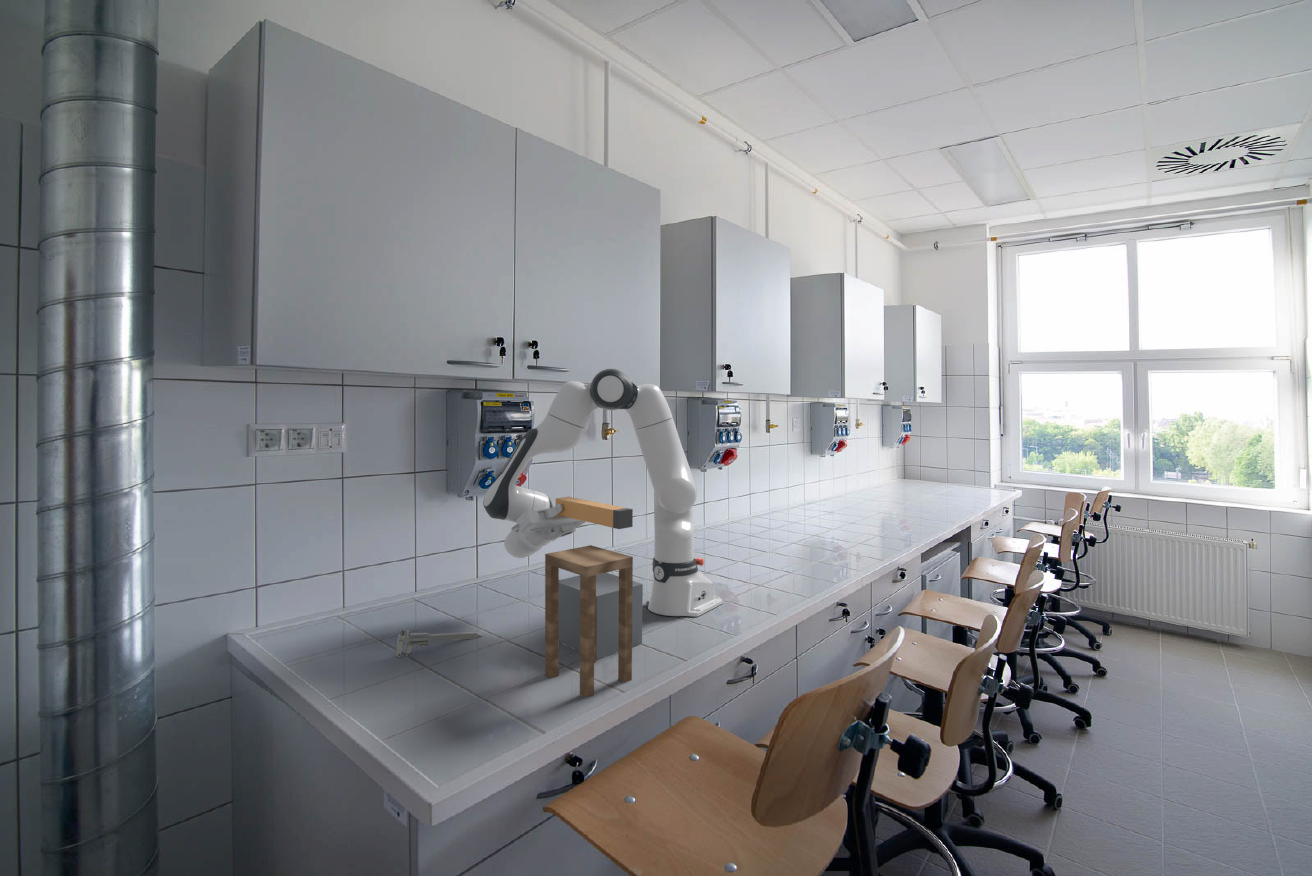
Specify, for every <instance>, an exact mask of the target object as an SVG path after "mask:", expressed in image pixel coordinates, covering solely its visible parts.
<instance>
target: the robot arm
mask: <svg viewBox="0 0 1312 876" xmlns="http://www.w3.org/2000/svg"><path fill="white" fill-rule="evenodd" d="M597 409H604V410H607V411H616V410H625V411H626V413H628V415H629V417H630V419H631V422H632V425H633V429H634V431H635V435H636V438H637V441H638V444H639V447H640V451H641V454H642V456H643V460H644V463H645V465H646V469H647V471H648V474H649V478H650V481H651V485H652V487H653V515H654V516H653V518H654V520H653V522H654V526H653V527H654V545H653V546H654V547H653V548H654V557H653V558H652V573H653V575H652V582H651V587H650V588H651V590H650V596H649V597H648V606H647V608H648V610H649V611H650V612H652V613H654V614H657V615H661V616H668V617H694V618H695V617H700V616H702V615H704V614H705V613H707V612H710V611H711V610H713V609H715V608H717V607H718V606H720V605H722V604H723V603H724V602H723V599H722V598H721V597H720V596H717V595H715V587H714V583H713V581H712V580H710V578H708V577H707V576H706V575H705V574H703V573H702V572H701V571H700V570H699V567H698V566H700V567H703V566H704V565H705V560H704V558H701V557H697V558H695V556H694V555H695V554H694V552H695V527H694V526H695V525H694V513H693V512H694V511H693V506H694V504H695V502H696V500H697V498H698V490H697V489H698V488H697V485H696V482H695V479H694V475H693V473H692V470H691V468H690V465H689V462H688V459H687V456H686V453H685V451H684V449H683V446H682V442H681V438H680V436H679V434H678V433H679V432H678V430H677V426H676V423H675V420H674V417H673V414H672V411H671V409H670V406H669V404H668V401H667V399H666V397H665V394H663V392H662V390H661V388H660V387H659V386H658V385H656V384H653V383H643V384H639V385H637V384H636V383H635V382H633V380H631V379H630V378H629V376H628V375H626V374H625V373H624V372H622V371H621V370H618V369H616V368H606V369H603V370H601V371H599V372H598V373H597V374H595V376H594V377H593V379H592V381H591V382H589V383H583V382H581V381H576V380H570V381H567V382H565V383H563V384H562V386H561V387H560V389H559V390H558V392H557V393H556V395H555V396H554V399H553V400H552V402H551V404H550V406H549V408H548V411H547V413H546V416H545V417H544V419H543V420H542V422H541V423H540V424H539V425H537V426H536V427H535V428H529V429H528V430H527V431H526V432H525V433H524V435H523V436H522V437H521V439H520V441H519V442H518V444H517V445H516V446H515V448H514V450H513V451H512V453H511V454H510V456H509V458H508V459H507V461H506V463H505V465H504V466H503V468H502V469H501V471H500V472H499V474H498V475H497V477H496V478H495V480H494V481H492V483H491V485H490V486H489V487H488V489H487V491H486V492H485V494H484V498H483V501H482V504H483V508H484V510H485V512H486V513H487V515H488V516H489V517H490V518H491V519H495V520H502V521H509V522H512V523H516V524H514V525H513V526H512V527H511V529H510V530H511V531H510V532H509V533H508V534H507V536H506V537H505V539H504V541H503V542H504V544H503V545H504V548H505V550H506V552H507V553H508V554H509V555H510V556H512V557H514V558H517V559H525V558H528V557H530V556H532V555H534V554H536V553H538V551H540V550H541V549H542V548H544V547H545V546H547V545H548V544H549V543H551V542H554V541H555V540H558V539H559V538H561V537H565V536H568V535H572V534H574V533H575V532H576V531H577V528H579V527H580V526H582V525H583V524H585V523H587V522H586V521H582V520H577V519H573V518H569V517H565V516H560V515H557V514H558V513H562V512H563V511H565V507H564V504H558V505H556V504H555V506H553V503H552V500H551V498H550V497H549V495H548V494H547V493H544V492H540V491H537V490H534V489H529V488H526V487H522V486H518V485H516V483H517V481H518V479H519V478H520V476H521V475H522V473H523V471H525V468H526V466H527V465H528V464H529V462H530V460H532V459H533V458H534V457H536V456H539V455H542V454H554V453H555V454H556V453H557V454H558V453H563V452H566V451H569V450H572V449H573V448H575V447H576V446H577V445H578V444H579V443H580V440H581V439H582V437H583V434H584V432H585V430H586V427H587V425H588V423H589V419H590V417H591V415H592V414H593V413H594V411H595V410H597Z"/></svg>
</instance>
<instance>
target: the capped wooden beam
mask: <svg viewBox="0 0 1312 876" xmlns="http://www.w3.org/2000/svg"><path fill="white" fill-rule="evenodd" d="M558 504H564V507H565V511H563V512H562V513H558V514H557V515H560V516H565V517H569V518H573V519H577V520H582V521H586V522H585V523H592V524H595V525H600V526H604V527H609V528H612V529H617V530H623V529H628V528H633V523H634V522H633V511H634V510H633V508H628V507H624V506H618V505H613V504H608V503H602V502H597V501H592V500H587V499H583V498H577V497H572V496H564V497H556V498H555V506H556V505H558Z"/></svg>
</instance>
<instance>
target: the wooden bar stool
mask: <svg viewBox="0 0 1312 876" xmlns="http://www.w3.org/2000/svg"><path fill="white" fill-rule="evenodd" d="M544 557H545V558H544V569H545V570H544V572H545V573H544V602H545V605H544V614H545V615H544V618H545V620H544V628H545V629H544V650H545V651H544V658H545V659H544V662H545V663H544V664H545V665H544V667H545V668H544V670H545V671H544V672H545V673H544V676H545V675H546V676H545V677H547V678H549V679H552V678H556V677H559V674H560V673H559V671H560V670H559V667H560V666H559V661H560V658H559V654H560V651H559V649H560V648H559V645H560V642H559V580H560V579H559V578H560V577H559V574H560V570H564V571H567V572H570V573H573V574H577V576H579V575H580V652H579V695H580V696H581V697H583V698H584V699H588V698H590V697H593V696H594V695H595V663H596V662H597V660H596V575H598V574H602V573H611V572H614V571H618V576H619V642H618V652H617V654H618V659H617V661H618V662H617V663H618V664H617V666H618V667H617V668H618V669H617V670H618V673H617V674H618V676H617V680H618V681H620V682H622V683H624V684H625V683H628V682H630V681H633V647H632V592H633V581H634V580H633V578H634V576H633V572H634V571H633V569H634V568H633V567H634V565H633V564H634V563H633V562H634V557H633V556H631V555H628V554H624V553H620V552H616V551H612V550H609V549H606V548H602V547H598V546H595V545H591V544H590V545H589V544H588V545H585V546H578V547H574V548H568V549H564V550H558V551H554V552H548V553H545V554H544Z"/></svg>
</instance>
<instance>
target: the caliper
mask: <svg viewBox="0 0 1312 876" xmlns="http://www.w3.org/2000/svg"><path fill="white" fill-rule="evenodd" d="M478 637H483V634H481V633H479V632H477V631H465V632H462V631H461V632H449V633H448V632H447V633H445V632H444V633H431V634H430V633H429V632H414V633H413V632H412V633H410V628H409V629H408V628H407V629H406V630H404V629H401V633H399V634H398V636H397V640H396V642H395V643H396V645H395V647H396V648H395V649H396V653H395V654H396V656H397V657H398V658H400V657H402V656H401V655H402V651H403V647H404V644H406V645H405V649H404V654H406V655H407V656H409V655H410V652H411V651H412V649H413V647H414V645H418V646H428V645H429V643H430V642H431V643H432V642H442V641H443V642H444V641H461V640H473V638H474V639H477V638H478ZM408 654H409V655H408ZM406 655H405V656H406ZM399 656H400V657H399Z"/></svg>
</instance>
